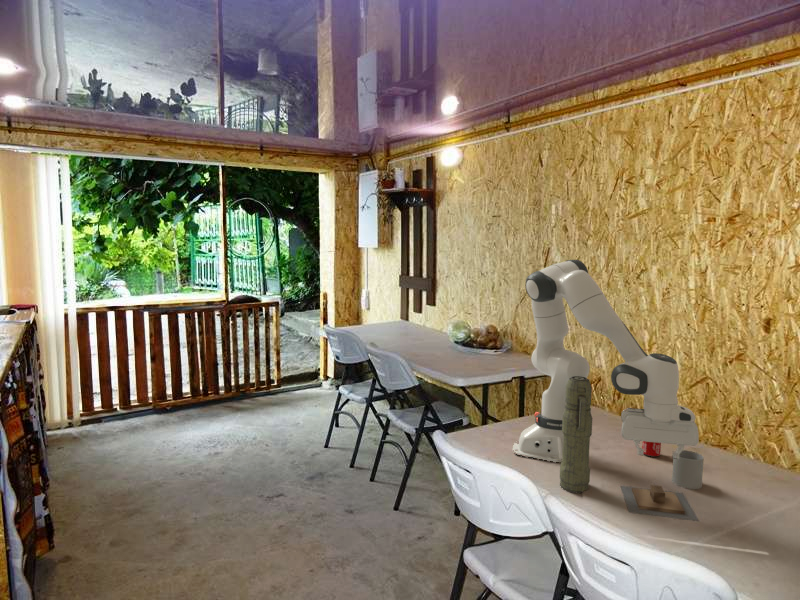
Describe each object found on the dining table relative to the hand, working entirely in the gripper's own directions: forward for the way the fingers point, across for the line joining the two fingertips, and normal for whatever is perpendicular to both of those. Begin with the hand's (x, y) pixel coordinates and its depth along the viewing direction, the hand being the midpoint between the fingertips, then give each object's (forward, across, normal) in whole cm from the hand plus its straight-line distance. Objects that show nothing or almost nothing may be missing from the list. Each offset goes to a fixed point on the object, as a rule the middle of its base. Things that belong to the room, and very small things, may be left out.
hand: (657, 456), depth 157 cm
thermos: (+15, -23, +5) cm, 27 cm away
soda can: (+15, +6, +43) cm, 46 cm away
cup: (+15, +12, +18) cm, 26 cm away
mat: (+15, 0, +1) cm, 15 cm away
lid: (+14, 0, +1) cm, 14 cm away
